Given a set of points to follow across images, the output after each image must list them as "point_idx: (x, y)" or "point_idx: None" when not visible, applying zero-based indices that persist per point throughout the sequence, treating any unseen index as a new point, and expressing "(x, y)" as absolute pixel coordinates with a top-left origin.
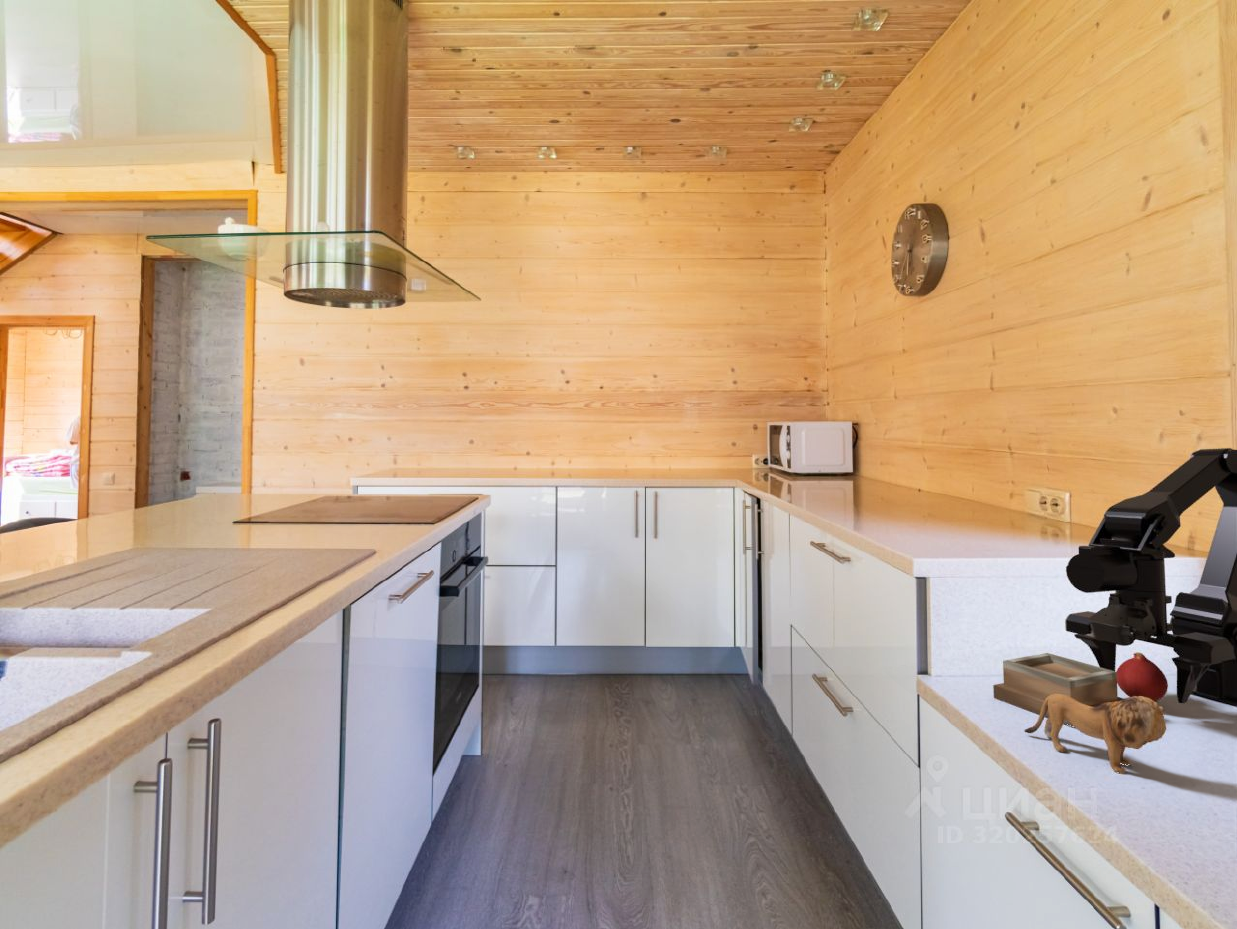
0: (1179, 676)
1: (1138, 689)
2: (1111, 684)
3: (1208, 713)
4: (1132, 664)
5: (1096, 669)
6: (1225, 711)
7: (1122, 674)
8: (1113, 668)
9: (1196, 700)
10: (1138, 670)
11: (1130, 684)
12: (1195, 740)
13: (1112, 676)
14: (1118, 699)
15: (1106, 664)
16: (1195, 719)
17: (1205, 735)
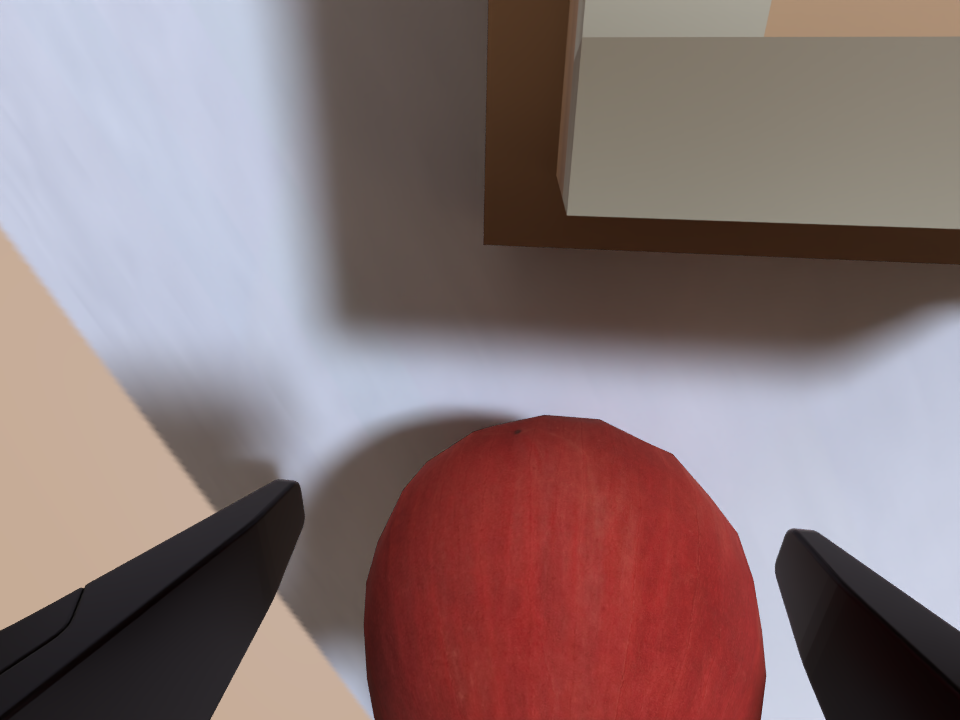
0: (64, 645)
1: (495, 437)
2: (572, 40)
3: (345, 598)
4: (584, 712)
5: (956, 47)
6: (339, 667)
7: (657, 529)
8: (832, 695)
9: None
10: (495, 625)
11: (554, 444)
12: (66, 121)
13: (575, 58)
14: (546, 168)
15: (913, 685)
16: (309, 476)
17: (126, 274)
